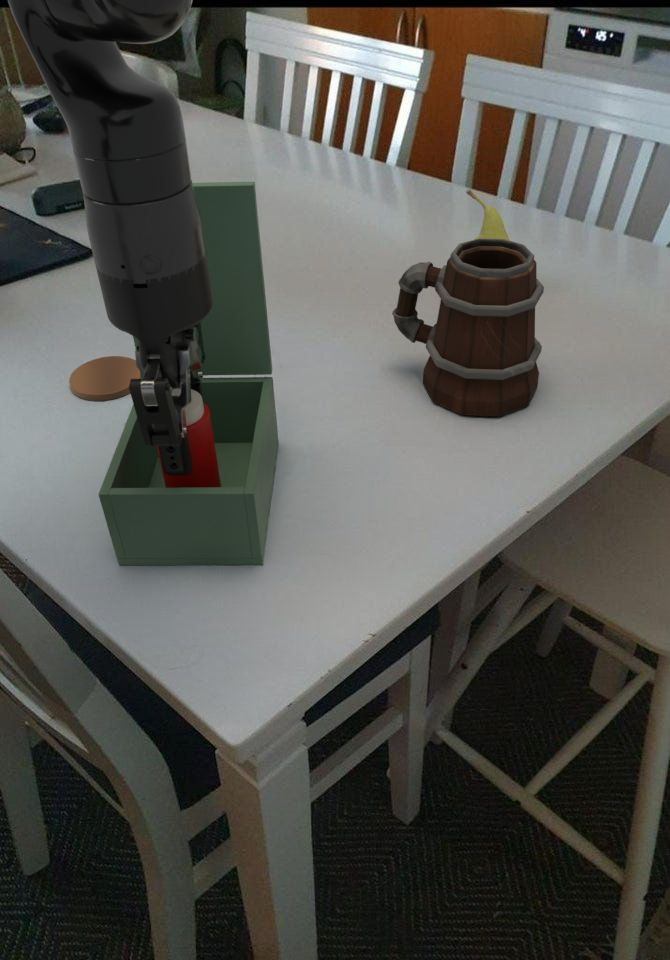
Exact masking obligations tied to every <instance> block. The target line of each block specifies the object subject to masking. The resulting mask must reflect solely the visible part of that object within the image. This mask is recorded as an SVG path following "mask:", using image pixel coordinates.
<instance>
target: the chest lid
mask: <svg viewBox="0 0 670 960" xmlns="http://www.w3.org/2000/svg"><path fill="white" fill-rule="evenodd" d="M192 184H193V189H194V193H195V196H196V200H197V203H198V207H199V211H200V216H201V221H202V229H203V236H204V243H205V250H206V257H207V264H208V271H209V278H210V286H211V293H212V300H213V305H212V309H211V311H210V313H209V314H208V316H207V317H206V318H205V319H204V320H203V321H201V322H200V323H201V331H202V339H203V347H204V353H205V356H206V357H205V360H204V363H202V364H201V368H202V371H203V376H262V375H263V376H264V375H265V376H266V375H267V376H268V375H269V376H270V375H273V362H272V361H273V360H272V351H271V340H270V329H269V319H268V318H269V317H268V308H267V297H266V288H265V287H266V285H265V276H264V266H263V253H262V245H261V234H260V224H259V213H258V203H257V191H256V182H255V181H220V182H219V181H218V182H216V181H215V182H192ZM132 338H133V344H134V348H136V345H139V341H138V340H137V339H136V338H135V337H134V336H132Z"/></svg>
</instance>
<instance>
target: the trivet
mask: <svg viewBox="0 0 670 960" xmlns="http://www.w3.org/2000/svg"><path fill="white" fill-rule="evenodd" d="M131 379H140V370H139V369H138V368H137V366H136V359H133V358H132V357H128V356H122V355H110V356H103V357H97V358H95V359H92V360H91V359H90V360H89V361H86V362H84V363H82V364H81V365H79V366H78V367H77V368H75V369H74V370H73V371H72V372H71V374H70V376H69V381H68V382H69V386H70V390H71V392H72V393H73V394H74V395H75V396H77V398H80V399H83V400H86V401H92V402H93V401H94V402H100V401H101V402H102V401H104V402H105V401H111V400H115V399H120V398H122V397H125V396H128V395H129V394H131V393H130V391H129V384H130V380H131Z"/></svg>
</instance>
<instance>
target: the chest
mask: <svg viewBox="0 0 670 960" xmlns="http://www.w3.org/2000/svg"><path fill="white" fill-rule="evenodd" d="M201 388H202V394H203V400H204V403H205V404H206V405H207V406H208V408H209V411H210V418H211V424H212V430H213V437H214V443H215V449H216V456H217V462H218V468H219V475H220V481H221V487H195V488H166V487H165V482H164V477H163V473H162V468H161V463H160V459H159V454H158V450H157V446H152V447H146V446H145V443H144V440H143V436H142V432H141V429H140V425H139V422H138V418H137V415H136V411H135V408H134V404H133V403H132V407H131V409H130V411H129V414H128V417H127V419H126V422H125V425H124V428H123V429H122V432H121V435H120V437H119V440H118V443H117V446H116V448H115V450H114V453H113V456H112V458H111V461H110V463H109V466H108V468H107V471H106V475H105V476H104V478H103V481H102V484H101V487H100V490H99V492H98V494H97V495H98V498H99V501H100V505H101V508H102V509H101V510H102V512H103V515H104V519H105V523H106V525H107V528H108V533H109V536H110V541H111V542H112V547H113V550H114V554H115V557H116V560H117V564H118V566H259V565H260V566H262V565H264V560H265V559H264V557H265V550H266V542H267V535H268V529H269V522H270V521H269V520H270V513H271V505H272V497H273V491H274V485H275V483H274V482H275V477H276V468H277V461H278V453H279V447H280V446H279V445H280V442H279V431H278V421H277V420H278V419H277V410H276V409H277V408H276V401H275V399H276V398H275V392H274V391H275V390H274V389H275V388H274V378H273V376H245V377H244V376H243V377H242V376H238V377H237V376H235V377H232V376H231V377H203V378H202V382H201Z"/></svg>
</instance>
